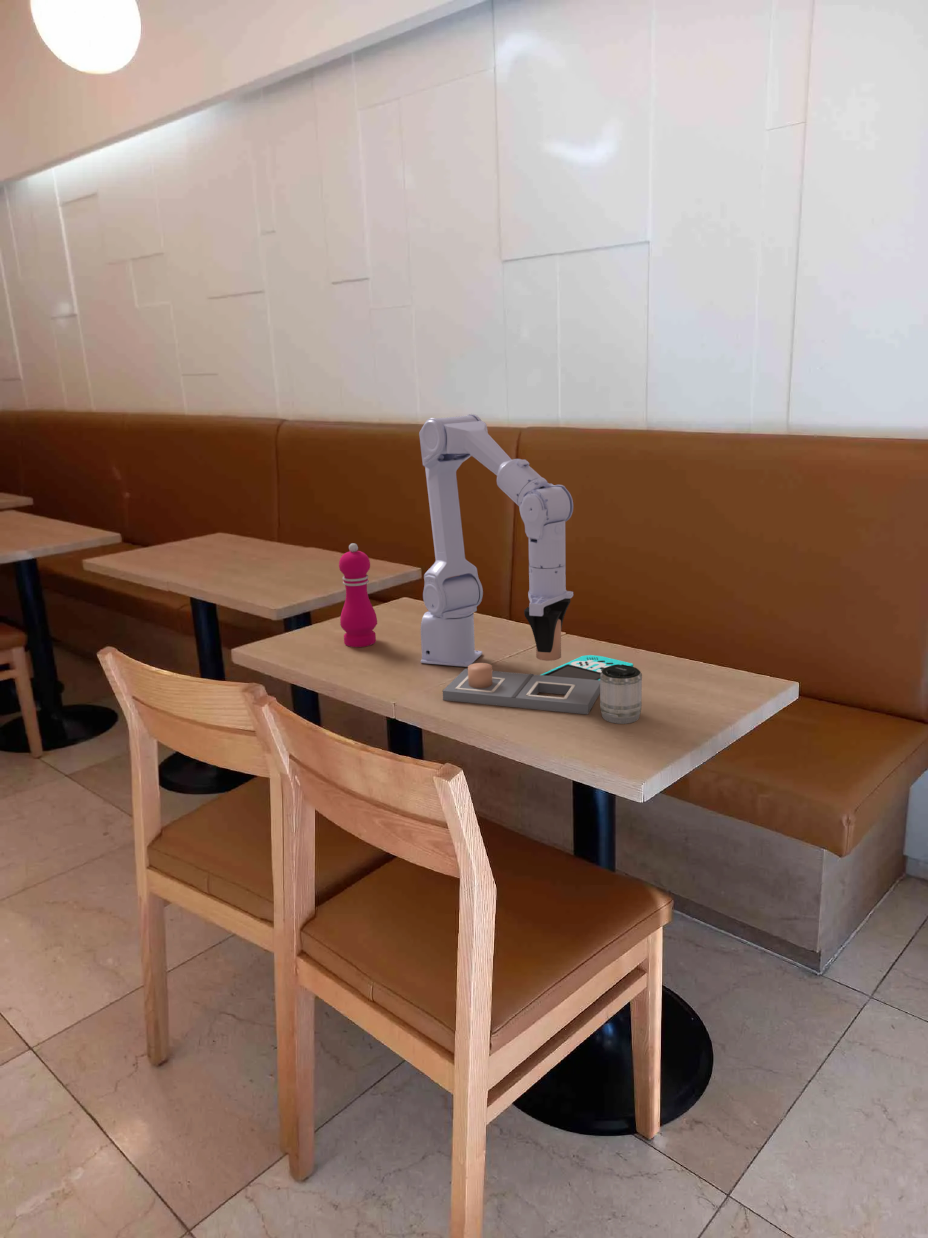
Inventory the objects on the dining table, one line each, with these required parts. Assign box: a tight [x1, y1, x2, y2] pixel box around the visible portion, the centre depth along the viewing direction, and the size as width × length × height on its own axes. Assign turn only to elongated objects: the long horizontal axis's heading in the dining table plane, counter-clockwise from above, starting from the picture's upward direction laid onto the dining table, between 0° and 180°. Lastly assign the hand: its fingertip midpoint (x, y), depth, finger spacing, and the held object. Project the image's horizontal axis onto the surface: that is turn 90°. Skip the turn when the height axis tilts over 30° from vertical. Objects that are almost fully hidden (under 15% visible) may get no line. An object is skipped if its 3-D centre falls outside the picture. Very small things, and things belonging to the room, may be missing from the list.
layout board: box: [442, 662, 600, 715], centre depth 148 cm, size 24×11×5 cm, turn 70°
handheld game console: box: [540, 654, 634, 680], centre depth 157 cm, size 10×16×1 cm, turn 137°
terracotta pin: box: [535, 619, 562, 662], centre depth 145 cm, size 4×4×6 cm
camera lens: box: [599, 664, 643, 725], centre depth 138 cm, size 6×6×8 cm
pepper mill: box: [338, 542, 378, 648], centre depth 176 cm, size 7×7×20 cm
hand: (548, 647), depth 145 cm, fingers closed on terracotta pin, 4 cm apart
